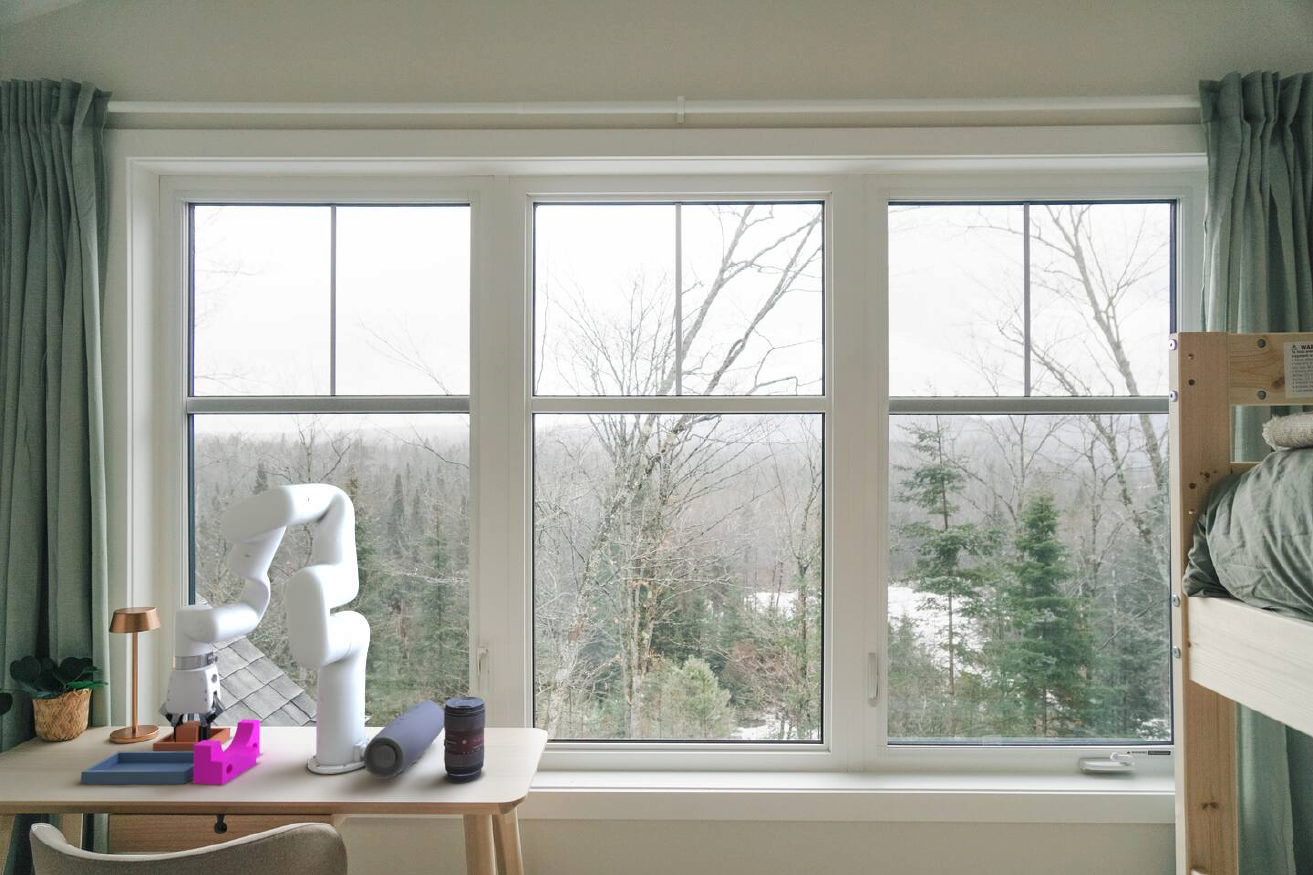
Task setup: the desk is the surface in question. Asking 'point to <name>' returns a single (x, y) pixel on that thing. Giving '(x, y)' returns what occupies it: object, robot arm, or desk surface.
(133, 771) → the blue tray
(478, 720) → the camera lens
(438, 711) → the bluetooth speaker
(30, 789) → the desk surface
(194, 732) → the terracotta cube
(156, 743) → the terracotta tray
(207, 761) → the toy block
